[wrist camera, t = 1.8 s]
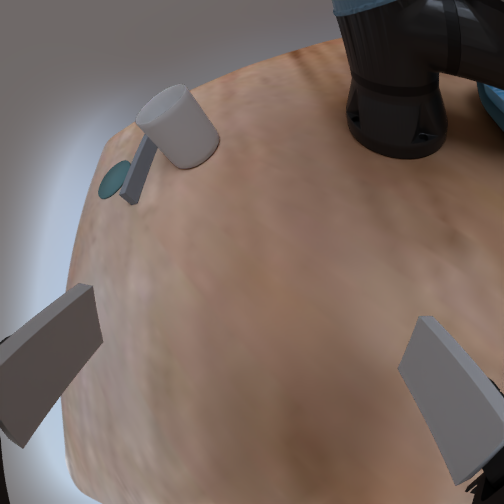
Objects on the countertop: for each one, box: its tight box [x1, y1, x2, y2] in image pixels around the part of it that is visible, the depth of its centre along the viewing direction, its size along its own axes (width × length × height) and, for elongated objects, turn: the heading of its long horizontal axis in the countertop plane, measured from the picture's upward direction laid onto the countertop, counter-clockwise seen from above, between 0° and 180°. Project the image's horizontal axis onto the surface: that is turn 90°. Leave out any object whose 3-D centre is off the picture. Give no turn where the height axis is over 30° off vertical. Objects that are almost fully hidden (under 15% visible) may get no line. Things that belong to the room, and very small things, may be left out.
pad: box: [98, 160, 131, 199], centre depth 53 cm, size 10×10×1 cm
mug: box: [135, 84, 219, 169], centre depth 41 cm, size 10×12×12 cm
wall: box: [119, 134, 158, 205], centre depth 48 cm, size 18×2×4 cm, turn 176°
